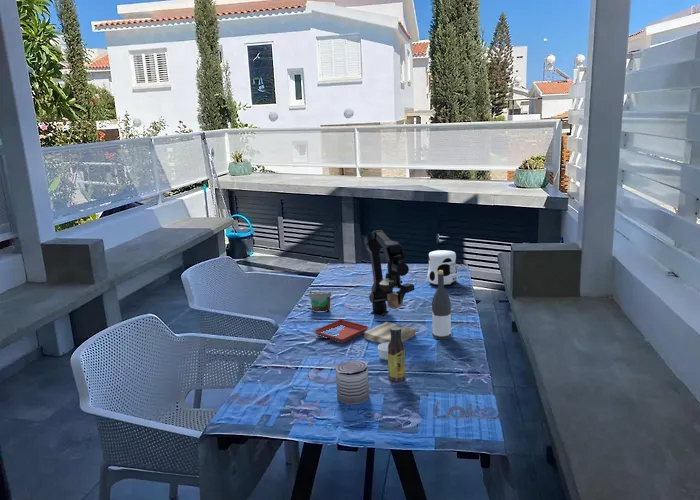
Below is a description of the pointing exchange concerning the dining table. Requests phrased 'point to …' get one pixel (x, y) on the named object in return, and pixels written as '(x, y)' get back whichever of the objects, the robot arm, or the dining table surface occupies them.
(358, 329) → the plant saucer
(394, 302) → the walnut block
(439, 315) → the wine bottle
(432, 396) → the dining table surface
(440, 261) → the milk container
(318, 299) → the food container
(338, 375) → the can
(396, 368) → the sauce bottle
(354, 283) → the dining table surface
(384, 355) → the ramekin
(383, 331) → the birch base
